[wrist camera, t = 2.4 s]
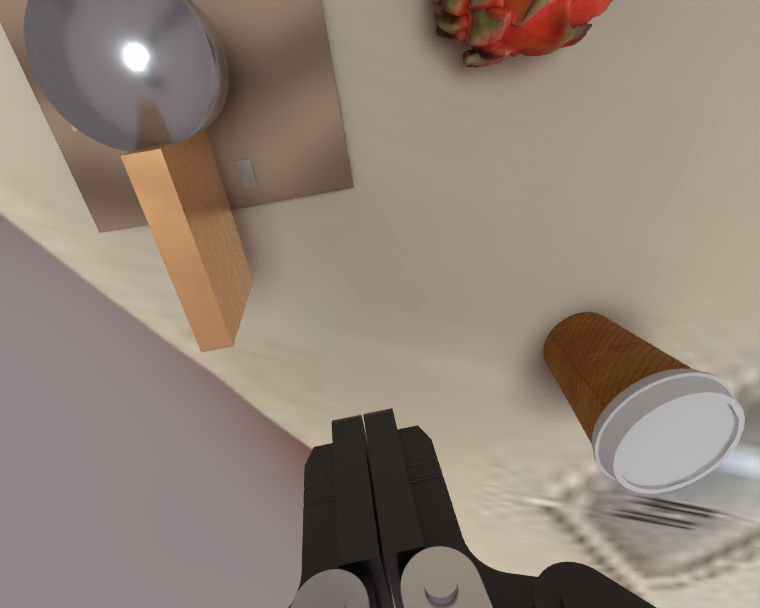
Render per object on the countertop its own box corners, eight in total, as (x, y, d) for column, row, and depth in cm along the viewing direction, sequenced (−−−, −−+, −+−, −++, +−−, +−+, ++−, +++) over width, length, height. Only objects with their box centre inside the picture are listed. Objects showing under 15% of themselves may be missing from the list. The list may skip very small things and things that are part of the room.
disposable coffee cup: (647, 344, 39) (769, 443, 29) (557, 404, 41) (640, 517, 31) (602, 272, 35) (725, 357, 25) (505, 343, 37) (580, 449, 27)
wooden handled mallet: (72, -2, 20) (-48, -41, 13) (213, -24, 20) (163, -72, 14) (189, 292, 27) (149, 362, 21) (291, 273, 27) (284, 336, 21)
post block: (-37, -94, 21) (-155, -151, 16) (295, -141, 22) (288, -211, 16) (109, 225, 29) (63, 259, 23) (351, 182, 29) (359, 206, 24)
